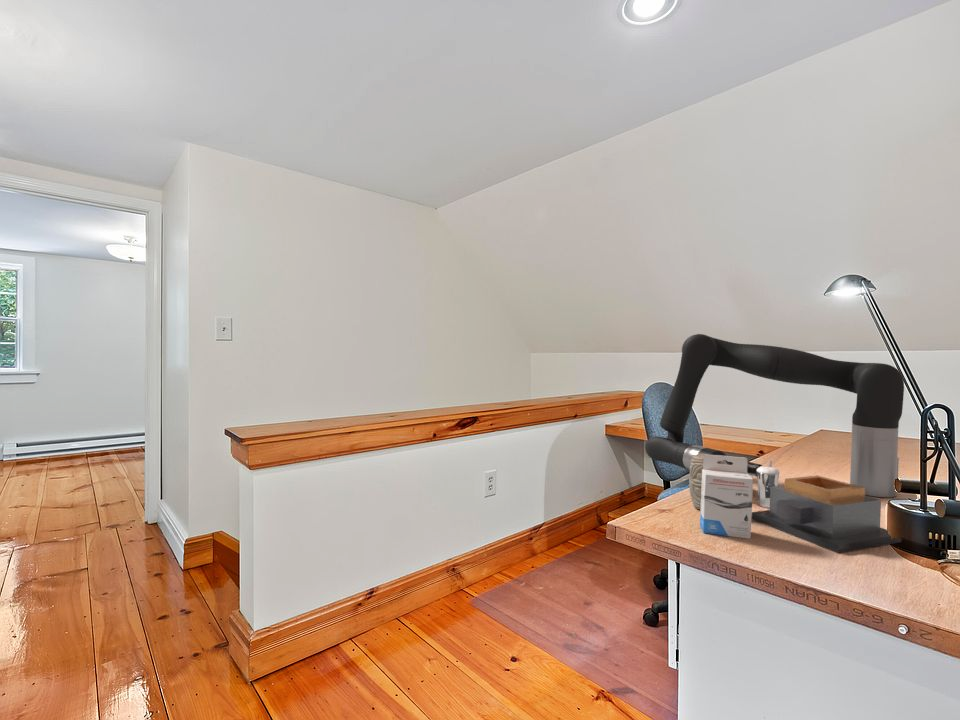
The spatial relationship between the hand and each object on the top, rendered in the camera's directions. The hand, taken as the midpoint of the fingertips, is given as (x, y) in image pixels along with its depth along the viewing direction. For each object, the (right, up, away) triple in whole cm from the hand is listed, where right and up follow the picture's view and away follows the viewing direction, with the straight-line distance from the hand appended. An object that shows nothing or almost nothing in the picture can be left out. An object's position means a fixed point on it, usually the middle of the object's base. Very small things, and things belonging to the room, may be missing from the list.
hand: (756, 476), depth 116 cm
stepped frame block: (+3, -6, -18) cm, 19 cm away
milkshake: (+1, -6, -3) cm, 7 cm away
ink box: (-18, -6, -20) cm, 27 cm away
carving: (-15, -6, -6) cm, 17 cm away
